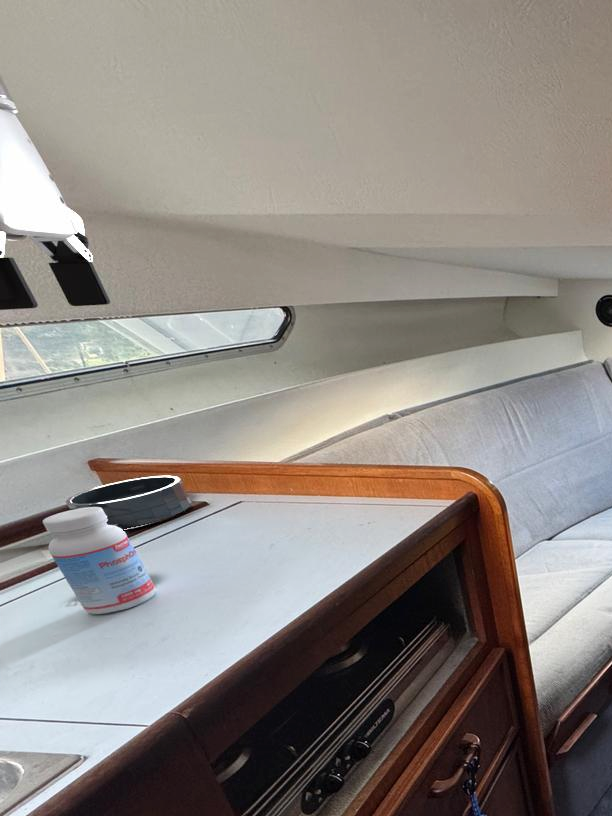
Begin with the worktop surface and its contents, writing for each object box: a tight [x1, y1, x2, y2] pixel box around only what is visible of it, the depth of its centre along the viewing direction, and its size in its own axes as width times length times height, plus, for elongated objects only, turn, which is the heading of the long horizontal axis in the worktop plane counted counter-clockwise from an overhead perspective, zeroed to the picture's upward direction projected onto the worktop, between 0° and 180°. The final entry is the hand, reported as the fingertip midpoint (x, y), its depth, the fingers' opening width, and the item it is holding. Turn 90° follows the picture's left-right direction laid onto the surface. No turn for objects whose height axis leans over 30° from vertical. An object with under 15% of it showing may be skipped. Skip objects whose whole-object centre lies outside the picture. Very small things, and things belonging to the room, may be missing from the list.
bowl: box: [64, 475, 193, 530], centre depth 90 cm, size 13×13×5 cm
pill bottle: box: [42, 507, 157, 615], centre depth 64 cm, size 6×6×11 cm
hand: (56, 306), depth 54 cm, fingers open, 9 cm apart
